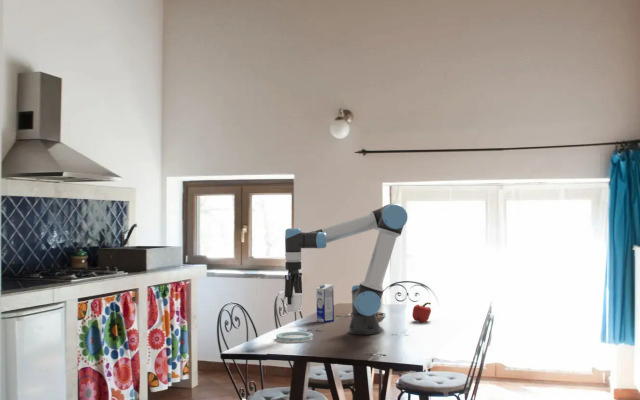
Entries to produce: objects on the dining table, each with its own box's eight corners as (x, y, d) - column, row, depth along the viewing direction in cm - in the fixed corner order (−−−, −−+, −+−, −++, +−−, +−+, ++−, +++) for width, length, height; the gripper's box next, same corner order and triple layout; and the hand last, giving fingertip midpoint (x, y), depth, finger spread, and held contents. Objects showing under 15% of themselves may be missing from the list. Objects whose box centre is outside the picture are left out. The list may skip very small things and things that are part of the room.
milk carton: (334, 321, 351) (333, 284, 352) (324, 322, 347) (323, 285, 348) (326, 319, 357) (326, 283, 358) (316, 321, 353) (316, 284, 354)
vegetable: (427, 319, 353) (426, 301, 353) (436, 322, 343) (435, 303, 343) (408, 320, 349) (408, 302, 350) (417, 323, 340) (417, 304, 340)
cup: (299, 312, 298) (299, 295, 298) (280, 311, 303) (280, 293, 303) (306, 310, 304) (306, 293, 305) (287, 309, 309) (288, 292, 309)
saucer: (318, 336, 308) (318, 332, 308) (303, 343, 292) (303, 339, 292) (286, 334, 314) (286, 330, 314) (270, 341, 299) (270, 337, 299)
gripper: (295, 259, 315) (295, 307, 314) (276, 262, 297) (277, 312, 296) (309, 259, 312) (309, 307, 311) (291, 262, 294) (291, 313, 293)
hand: (293, 310), depth 304 cm, fingers closed on cup, 7 cm apart
